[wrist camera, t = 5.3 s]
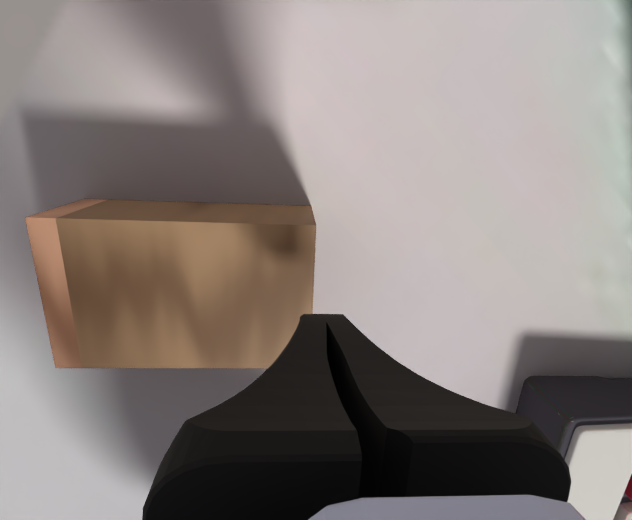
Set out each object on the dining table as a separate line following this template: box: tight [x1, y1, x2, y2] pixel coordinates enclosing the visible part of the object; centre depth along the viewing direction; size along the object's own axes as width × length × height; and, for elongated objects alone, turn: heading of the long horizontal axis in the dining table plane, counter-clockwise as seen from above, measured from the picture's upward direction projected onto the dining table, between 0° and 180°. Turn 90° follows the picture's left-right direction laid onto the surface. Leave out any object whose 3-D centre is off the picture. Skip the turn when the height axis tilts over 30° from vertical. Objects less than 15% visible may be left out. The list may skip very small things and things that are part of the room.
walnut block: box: [25, 199, 316, 368], centre depth 16 cm, size 6×4×10 cm
